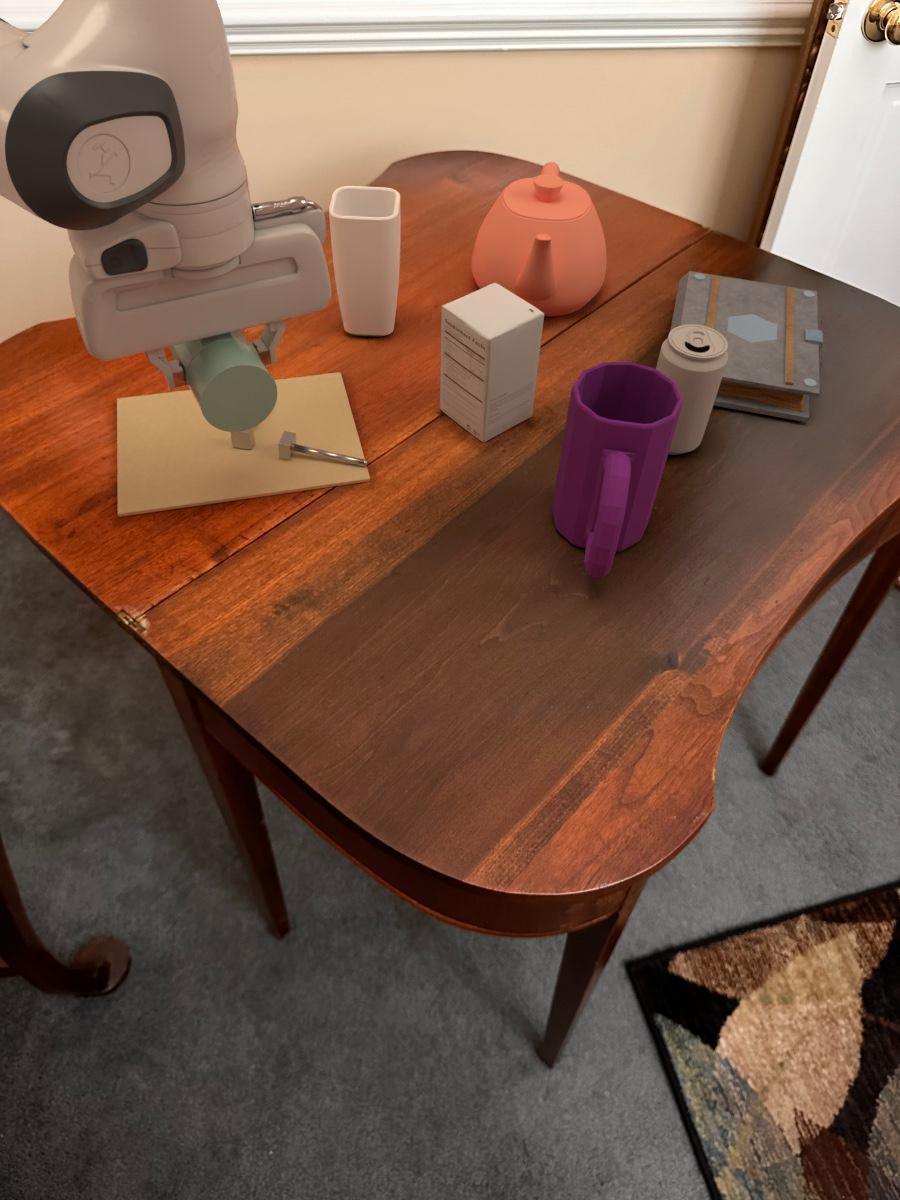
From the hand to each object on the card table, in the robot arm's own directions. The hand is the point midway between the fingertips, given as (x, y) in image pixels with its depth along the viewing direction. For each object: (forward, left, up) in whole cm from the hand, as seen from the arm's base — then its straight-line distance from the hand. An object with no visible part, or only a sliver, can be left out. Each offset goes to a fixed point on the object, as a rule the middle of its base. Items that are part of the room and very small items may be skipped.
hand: (221, 373), depth 75 cm
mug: (+31, -15, -13) cm, 37 cm away
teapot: (+39, +29, -13) cm, 50 cm away
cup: (+17, +25, -13) cm, 33 cm away
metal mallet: (+12, 0, -12) cm, 17 cm away
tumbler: (+1, -5, +1) cm, 5 cm away
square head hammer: (+4, +13, -12) cm, 18 cm away
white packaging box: (+26, +6, -13) cm, 30 cm away
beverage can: (+44, -2, -13) cm, 46 cm away
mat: (0, +7, -13) cm, 15 cm away
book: (+58, +10, -13) cm, 60 cm away
